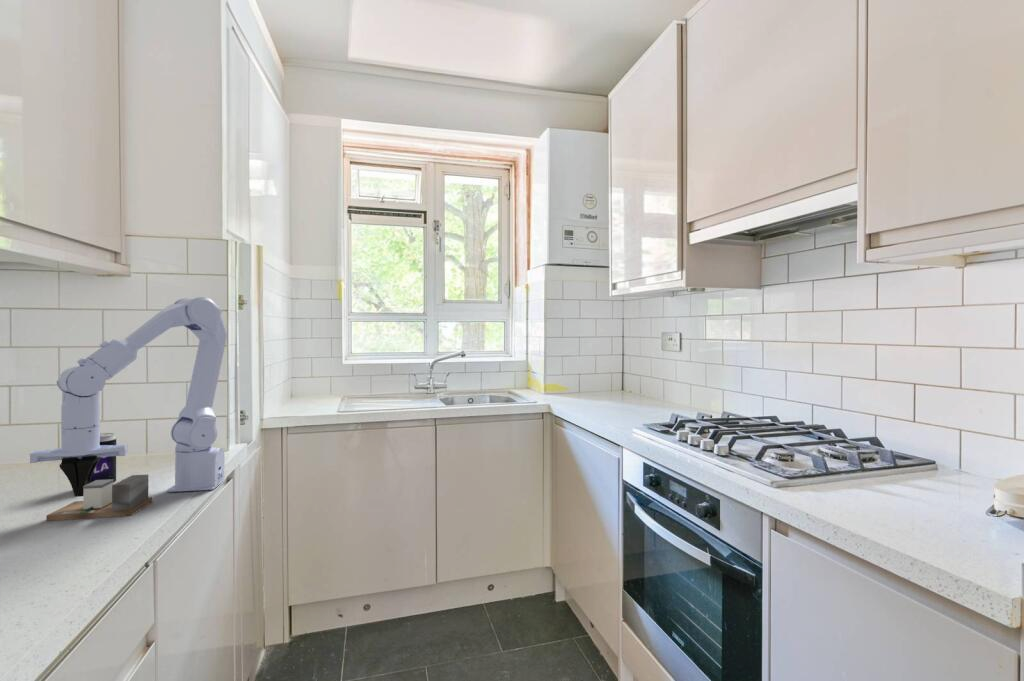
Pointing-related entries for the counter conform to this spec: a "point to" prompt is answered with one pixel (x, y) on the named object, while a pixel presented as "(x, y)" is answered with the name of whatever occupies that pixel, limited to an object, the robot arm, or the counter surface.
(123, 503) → the frame
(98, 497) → the block
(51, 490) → the counter surface
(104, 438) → the beverage can
